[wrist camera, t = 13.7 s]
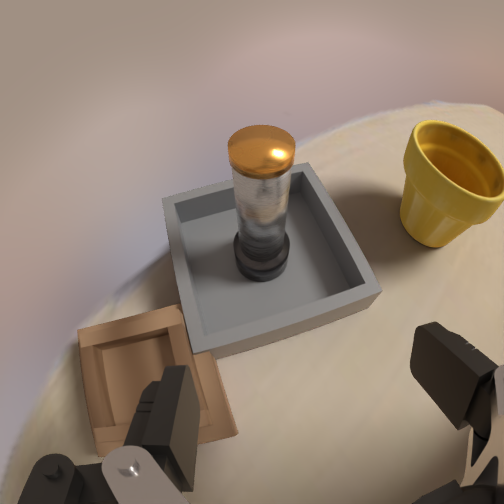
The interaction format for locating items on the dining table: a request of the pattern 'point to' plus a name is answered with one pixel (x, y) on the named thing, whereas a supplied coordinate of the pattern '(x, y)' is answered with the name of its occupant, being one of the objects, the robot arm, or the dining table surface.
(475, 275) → the dining table surface
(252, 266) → the gold-capped glass canister
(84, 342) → the brown square open box
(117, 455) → the robot arm
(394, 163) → the dining table surface
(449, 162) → the plant pot
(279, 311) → the tray
